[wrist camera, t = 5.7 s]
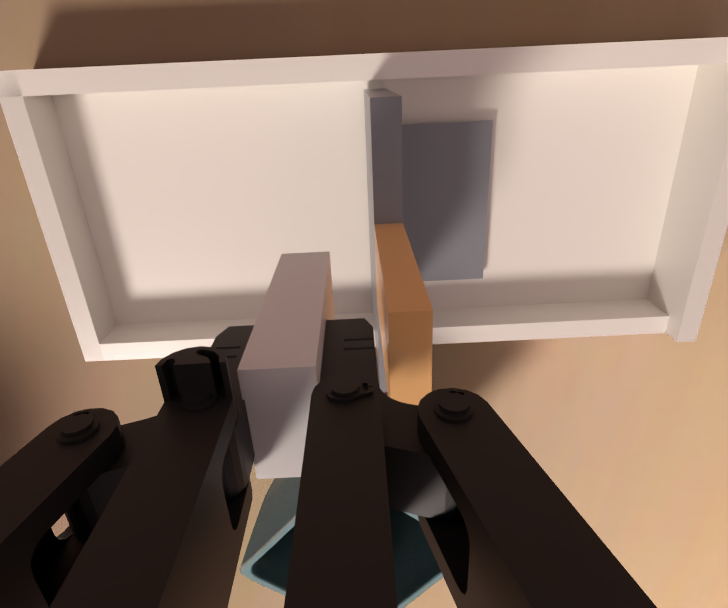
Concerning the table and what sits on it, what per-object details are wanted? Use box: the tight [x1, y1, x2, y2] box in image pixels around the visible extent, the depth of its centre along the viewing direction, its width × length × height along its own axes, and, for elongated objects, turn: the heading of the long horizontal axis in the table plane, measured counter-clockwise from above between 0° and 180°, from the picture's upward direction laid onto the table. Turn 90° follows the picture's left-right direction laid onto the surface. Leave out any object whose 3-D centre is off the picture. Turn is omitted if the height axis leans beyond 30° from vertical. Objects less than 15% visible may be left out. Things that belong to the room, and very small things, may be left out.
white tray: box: [0, 37, 728, 362], centre depth 24 cm, size 32×14×4 cm, turn 92°
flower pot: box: [240, 477, 443, 608], centre depth 29 cm, size 9×9×9 cm
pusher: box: [364, 88, 493, 405], centre depth 18 cm, size 6×11×15 cm, turn 2°
